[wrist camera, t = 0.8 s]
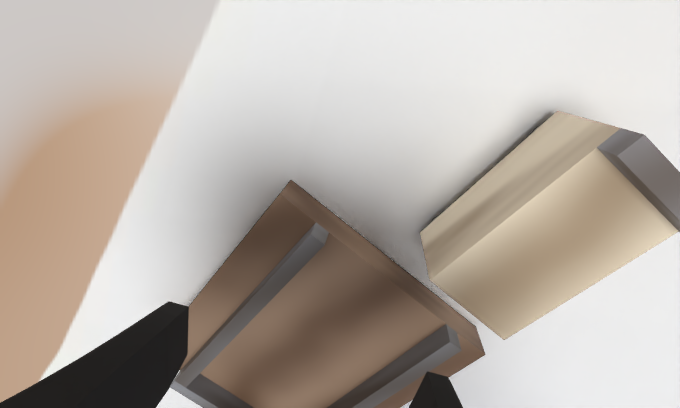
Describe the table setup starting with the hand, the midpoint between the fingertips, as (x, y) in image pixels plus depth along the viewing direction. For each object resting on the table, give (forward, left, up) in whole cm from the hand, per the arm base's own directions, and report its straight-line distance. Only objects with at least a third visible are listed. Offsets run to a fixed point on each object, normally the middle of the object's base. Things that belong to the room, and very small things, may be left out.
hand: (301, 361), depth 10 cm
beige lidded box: (-5, -7, -9) cm, 13 cm away
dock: (-3, +7, -9) cm, 12 cm away
